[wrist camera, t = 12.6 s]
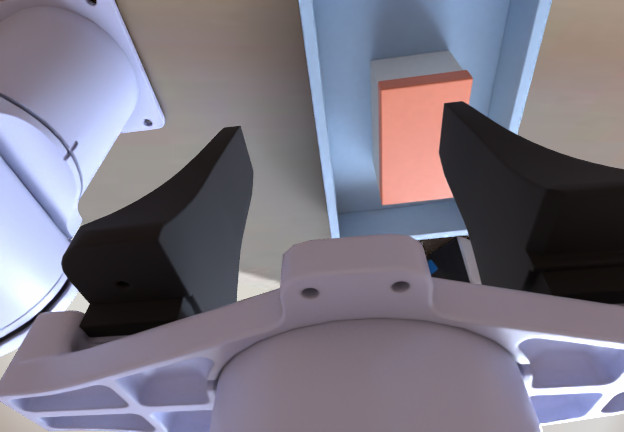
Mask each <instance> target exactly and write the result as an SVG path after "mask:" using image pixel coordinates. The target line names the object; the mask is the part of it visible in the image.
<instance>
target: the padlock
mask: <svg viewBox="0 0 624 432" xmlns="http://www.w3.org/2000/svg"><path fill="white" fill-rule="evenodd" d="M426 259H427V263H428V266H429V270H430V274H431V277H434V278H440V279H447V280H453V281H460V282H467V283H473V284H480V285H482V284H481V280H480V275H479V272H478V268H477V264H476V260H475V256H474V252H473V249H472V245H471V242H470V240H468V239H466V238H464V237H462V236H457V237H456V238H454V239H453V240H451V241H450V242H448V243H447V244H445V245H444V246H442V247H441V248H439V249H438V250H436V251H435V252H433V253H432V254H430V255H429V256H427V257H426Z"/></svg>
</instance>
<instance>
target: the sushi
mask: <svg viewBox="0 0 624 432" xmlns="http://www.w3.org/2000/svg"><path fill="white" fill-rule="evenodd" d="M472 82H473V77H472V76H471V75H470V73H469V72H468V70H463V69H462V68H461V67H460V65H459V64H458V62H457V61H456V59H455V58H454V56H453V55H452V54H451V52H450V51H449V50H447V51H439V52H432V53H424V54H417V55H410V56H402V57H395V58H387V59H380V60H372V61H370V83H371V117H372V152H373V165H374V169H375V174H376V178H377V183H378V187H379V191H380V199H381V204H382V205H390V204H399V203H408V202H418V201H427V200H436V199H446V198H454V197H453V195H452V192H451V190H450V188H449V185H448V183H447V180H446V178H445V175H444V172H443V168H442V164H441V160H440V156H439V145H440V136H441V126H442V117H443V108H444V103H450V102H459V101H463V102H465V103H467V104H468V105H469V101H470V95H471V88H472Z"/></svg>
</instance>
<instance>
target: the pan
mask: <svg viewBox="0 0 624 432" xmlns="http://www.w3.org/2000/svg"><path fill="white" fill-rule="evenodd" d="M298 2H299V9H300V16H301V24H302V31H303V38H304V45H305V53H306V60H307V67H308V74H309V81H310V89H311V96H312V103H313V110H314V117H315V125H316V132H317V139H318V146H319V153H320V161H321V168H322V175H323V182H324V190H325V197H326V204H327V211H328V218H329V226H330V233H331V238H342V237H354V236H366V235H378V234H400V235H409V236H411V237H412V238H414V239H415V240H423V239H433V238H443V237H453V236H462V235H468V231H467V228H466V226H465V223H464V220H463V218H462V216H461V213H460V211H459V209H458V206H457V204H456V202H455V199H454V198H446V199H436V200H427V201H418V202H408V203H399V204H390V205H382V204H381V199H380V191H379V187H378V183H377V178H376V174H375V169H374V165H373V152H372V117H371V83H370V61H372V60H380V59H387V58H395V57H402V56H410V55H417V54H424V53H432V52H439V51H447V50H449V51H450V52H451V54H452V55H453V56H454V58H455V59H456V61H457V62H458V64H459V65H460V67H461V68H462V69H463V70H468V72H469V73H470V75H471V76H472V77H473V82H472V88H471V95H470V101H469V105H470V106H471V107H473V108H474V109H476V110H478V111H479V112H481V113H482V114H484V115H485V116H487V117H488V118H490V119H491V120H493V121H494V122H496V123H498V124H499V125H501V126H503V127H504V128H506V129H508V130H510V131H511V132H513V133H515V134H517V133H518V129H519V126H520V122H521V118H522V114H523V110H524V106H525V102H526V99H527V95H528V91H529V87H530V83H531V79H532V76H533V72H534V68H535V64H536V60H537V56H538V52H539V49H540V45H541V41H542V37H543V33H544V29H545V25H546V22H547V18H548V14H549V10H550V6H551V2H552V0H298Z"/></svg>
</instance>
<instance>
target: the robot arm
mask: <svg viewBox="0 0 624 432" xmlns="http://www.w3.org/2000/svg"><path fill="white" fill-rule="evenodd" d="M145 119H149V120H151V122H152V123H148V122H147V121H146V120H145ZM164 123H165V117H164V115H163V113H162V110H161V108H160V106H159V103H158V101H157V99H156V96H155V94H154V91H153V89H152V87H151V84H150V82H149V80H148V77H147V75H146V73H145V70H144V68H143V66H142V63H141V61H140V59H139V56H138V54H137V52H136V49H135V47H134V45H133V42H132V40H131V38H130V35H129V33H128V31H127V28H126V26H125V24H124V21H123V19H122V17H121V14H120V12H119V10H118V7H117V5H116V3H115V0H96V3H93V2H91V1H90V0H1V1H0V357H1V356H3V355H5V354H7V353H9V352H11V351H13V350H15V349H17V348H19V349H18V351H17V352H16V354H15V356H14V358H13V359H12V361H11V363H10V365H9V367H8V368H7V370H6V372H5V373H4V375H3V377H2V378H1V380H0V402H2V403H3V404H5V405H7V406H8V407H10V408H12V409H13V410H15V411H16V412H18V413H20V414H22V415H23V416H25V417H26V418H28V419H30V420H31V421H33V422H35V423H36V424H38V425H39V426H41V427H43V428H44V429H46V430H48V431H74V430H85V431H116V432H543V431H542V428H541V426H543V425H549V424H556V423H562V422H569V421H576V420H582V419H589V418H595V417H602V416H609V415H615V414H622V413H624V169H619V168H613V167H609V166H604V165H600V164H596V163H591V162H588V161H584V160H580V159H577V158H573V157H570V156H567V155H564V154H561V153H558V152H555V151H553V150H550V149H547V148H545V147H543V146H540V145H538V144H536V143H533V142H531V141H529V140H527V139H525V138H523V137H521V136H519V135H517V134H515V133H513V132H511V131H510V130H508V129H506V128H504V127H503V126H501V125H499V124H498V123H496V122H494V121H493V120H491V119H490V118H488V117H487V116H485V115H484V114H482V113H481V112H479V111H478V110H476V109H474V108H473V107H471V106H470V105H468V104H467V103H465V102H463V101H459V102H450V103H444V108H443V117H442V126H441V136H440V145H439V156H440V160H441V164H442V168H443V172H444V175H445V178H446V180H447V183H448V185H449V188H450V190H451V192H452V195H453V197H454V199H455V202H456V204H457V206H458V209H459V211H460V213H461V216H462V218H463V220H464V223H465V226H466V228H467V231H468V235H469V238H470V242H471V245H472V249H473V252H474V256H475V260H476V264H477V268H478V272H479V275H480V280H481V284H482V285H480V284H473V283H467V282H460V281H453V280H447V279H440V278H434V277H431V274H430V270H429V266H428V263H427V259H426V255H425V252H424V249H423V246H422V243H420V242H419V241H417V240H415V239H414V238H412V237H411V236H409V235H400V234H378V235H366V236H354V237H342V238H330V239H318V240H310V241H306V242H303V243H299V244H295V245H293V246H292V247H291V248H290V249H289V250H288V251H287V252H285V253H284V254H283V260H282V269H281V282H280V288H279V289H276V290H272V291H269V292H266V293H263V294H260V295H257V296H253V297H250V298H247V299H244V300H241V301H237V285H238V271H239V260H240V249H241V243H242V238H243V233H244V229H245V224H246V219H247V215H248V210H249V206H250V201H251V196H252V187H253V168H252V165H251V161H250V158H249V154H248V151H247V147H246V144H245V140H244V137H243V133H242V130H241V126H235V127H226V128H223V129H222V130H221V131H220V132H219V133H218V134H217V135H216V136H215V137H214V138H213V139H212V140H211V141H210V142H209V143H208V144H207V145H206V147H205V148H204V149H203V150H202V151H201V152H200V153H199V154H198V155H197V156H196V157H195V158H194V159H192V160H191V161H190V162H189V163H188V164H187V165H186V166H185V167H184V168H183V169H182V170H181V171H179V172H178V173H177V174H176V175H175V176H173V177H172V178H171V179H169V180H168V181H167V182H165V183H164V184H163V185H161V186H160V187H158V188H157V189H155V190H154V191H152V192H151V193H149V194H147V195H146V196H144V197H142V198H141V199H139V200H138V201H136V202H134V203H132V204H130V205H128V206H126V207H124V208H122V209H120V210H118V211H116V212H114V213H112V214H110V215H107V216H105V217H102V218H100V219H97V220H95V221H93V222H90V223H88V224H85V225H82V226H80V228H79V230H78V231H77V229H78V227H79V225H80V224H81V222H82V218H81V216H80V215H79V212H78V208H77V204H78V201H79V199H80V198H81V196H82V194H83V193H84V191H85V189H86V188H87V186H88V185H89V183H90V181H91V180H92V178H93V176H94V175H95V173H96V171H97V170H98V168H99V166H100V165H101V163H102V162H103V160H104V158H105V157H106V155H107V153H108V152H109V150H110V148H111V147H112V145H113V144H114V142H115V140H116V139H117V137H118V135H119V134H120V133H126V132H134V131H142V130H150V129H158V128H162V127H163V126H164ZM76 231H77V233H76V235H75V236H74V234H75V232H76ZM73 236H74V238H73ZM68 238H69V239H68ZM72 238H73V240H70V239H72ZM78 291H79V292H80V293H81V294H82V295H83V296H84V298H85V299H86V300H87V301H88V302H89V303H90V305H89V307H88V309H87V311H86V313H85V314H84V313H82V312H79V311H65V310H66V309H67V308H68V306H69V305H70V303H71V302H72V301H73V299H74V298H75V296H76V294H77V292H78Z"/></svg>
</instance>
